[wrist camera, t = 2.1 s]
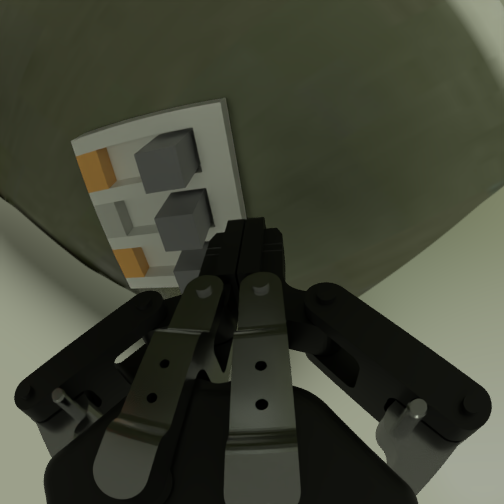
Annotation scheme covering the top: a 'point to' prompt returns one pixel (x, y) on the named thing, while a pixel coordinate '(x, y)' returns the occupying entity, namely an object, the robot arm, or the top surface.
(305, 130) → the top surface
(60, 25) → the top surface
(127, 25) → the top surface
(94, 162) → the switch bank
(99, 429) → the robot arm
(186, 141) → the tab
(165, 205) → the tab
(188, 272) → the tab
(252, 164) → the top surface
